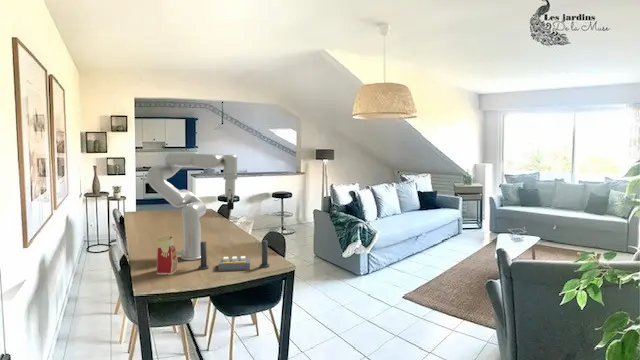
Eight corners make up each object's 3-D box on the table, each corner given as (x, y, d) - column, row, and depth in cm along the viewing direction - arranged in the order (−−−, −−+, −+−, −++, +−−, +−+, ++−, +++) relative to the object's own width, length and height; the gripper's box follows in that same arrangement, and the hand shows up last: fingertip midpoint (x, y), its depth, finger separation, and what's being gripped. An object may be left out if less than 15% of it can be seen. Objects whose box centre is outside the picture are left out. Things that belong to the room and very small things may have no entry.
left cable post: (198, 269, 208) (197, 243, 207) (199, 266, 213) (199, 241, 212) (207, 269, 209) (207, 243, 207) (209, 266, 214) (208, 241, 212)
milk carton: (178, 269, 209) (177, 231, 207) (172, 274, 200) (171, 235, 198) (160, 268, 209) (159, 231, 207) (153, 274, 199) (153, 235, 198)
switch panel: (218, 271, 207) (218, 261, 206) (219, 265, 217) (219, 255, 216) (249, 270, 210) (249, 260, 209) (249, 264, 220) (249, 254, 219)
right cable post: (260, 267, 213) (260, 242, 212) (260, 265, 218) (260, 240, 217) (269, 267, 214) (269, 242, 212) (269, 264, 219) (269, 239, 217)
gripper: (224, 175, 230) (224, 207, 232) (222, 177, 215) (222, 211, 217) (237, 175, 232) (238, 206, 233) (236, 177, 216) (236, 211, 218)
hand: (230, 208), depth 225 cm, fingers closed
